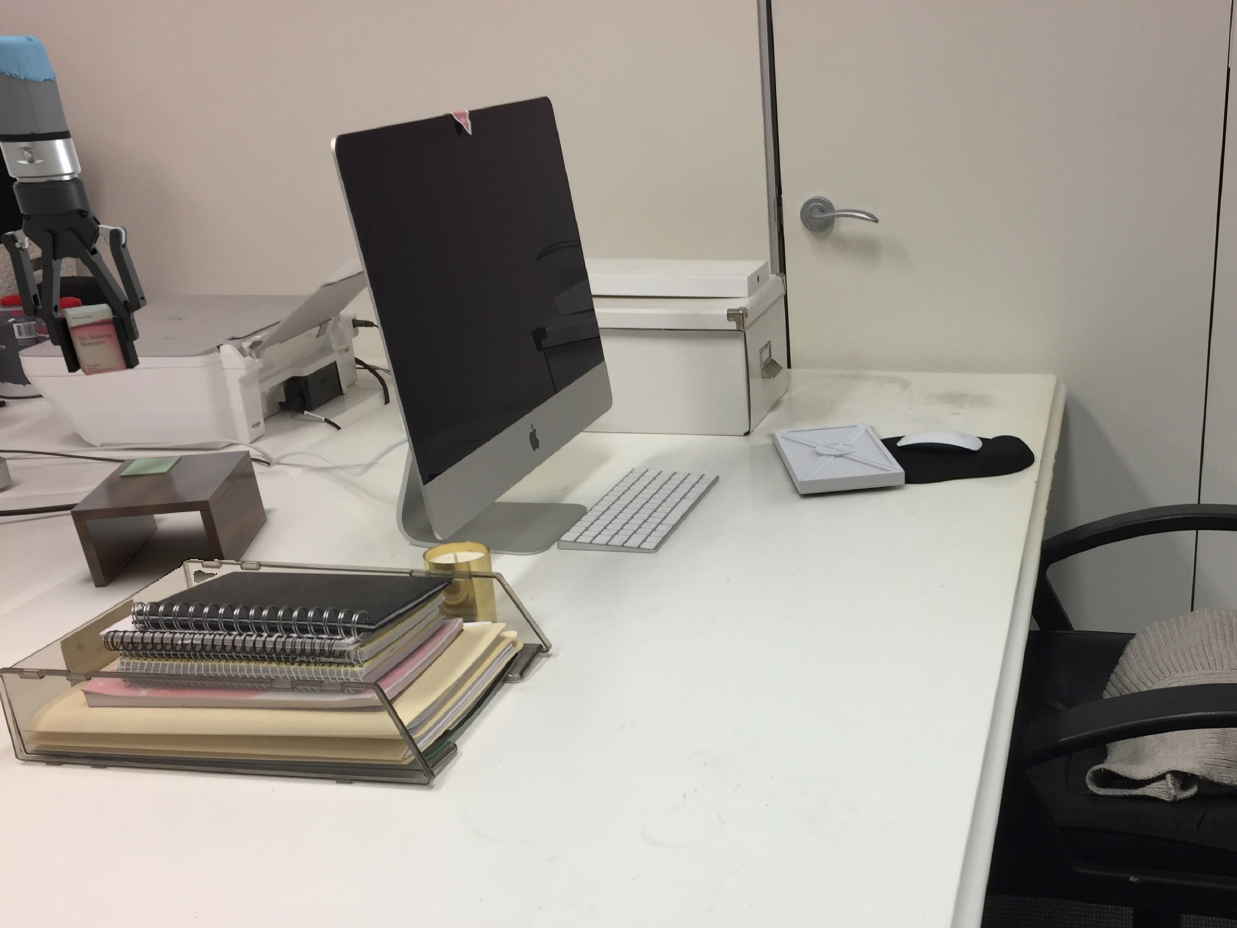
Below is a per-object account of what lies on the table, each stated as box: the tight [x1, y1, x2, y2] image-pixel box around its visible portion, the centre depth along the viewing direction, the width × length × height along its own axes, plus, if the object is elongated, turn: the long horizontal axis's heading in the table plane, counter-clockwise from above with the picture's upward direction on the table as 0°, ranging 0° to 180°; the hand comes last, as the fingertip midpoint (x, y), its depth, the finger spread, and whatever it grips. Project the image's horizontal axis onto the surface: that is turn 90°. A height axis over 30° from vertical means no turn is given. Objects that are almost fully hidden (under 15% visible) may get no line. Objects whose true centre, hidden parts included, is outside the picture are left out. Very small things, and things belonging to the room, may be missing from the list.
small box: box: [62, 303, 128, 376], centre depth 157 cm, size 5×4×8 cm
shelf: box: [69, 449, 268, 588], centre depth 144 cm, size 14×18×9 cm
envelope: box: [772, 422, 906, 495], centre depth 168 cm, size 24×2×14 cm
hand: (104, 368), depth 159 cm, fingers closed on small box, 6 cm apart
